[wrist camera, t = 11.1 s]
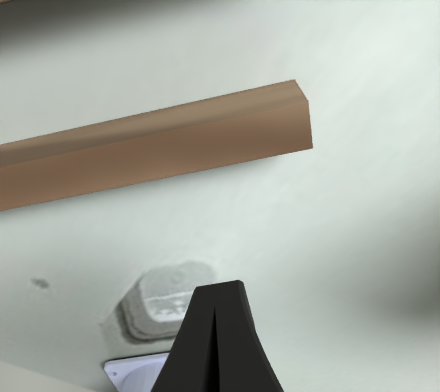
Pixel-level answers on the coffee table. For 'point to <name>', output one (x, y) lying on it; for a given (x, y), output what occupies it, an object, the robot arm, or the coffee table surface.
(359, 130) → the coffee table surface
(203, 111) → the walnut chute
